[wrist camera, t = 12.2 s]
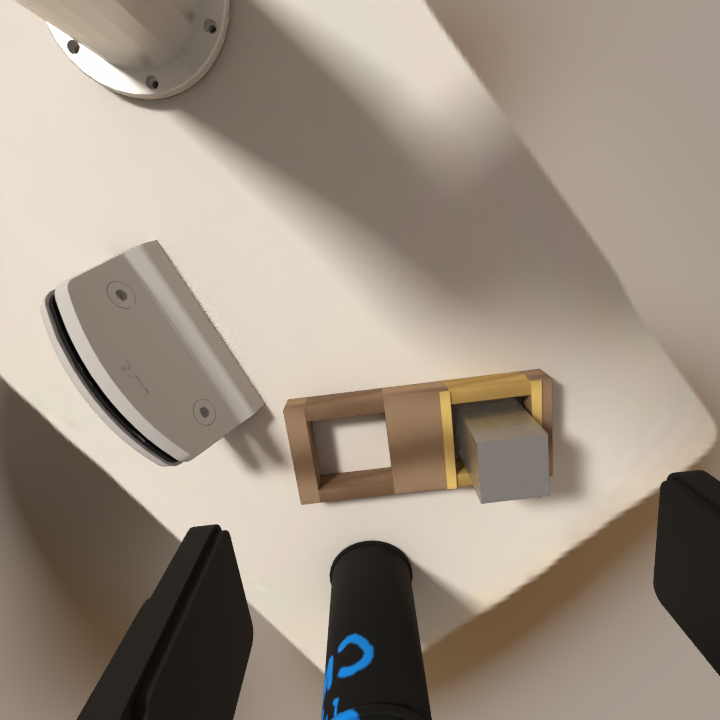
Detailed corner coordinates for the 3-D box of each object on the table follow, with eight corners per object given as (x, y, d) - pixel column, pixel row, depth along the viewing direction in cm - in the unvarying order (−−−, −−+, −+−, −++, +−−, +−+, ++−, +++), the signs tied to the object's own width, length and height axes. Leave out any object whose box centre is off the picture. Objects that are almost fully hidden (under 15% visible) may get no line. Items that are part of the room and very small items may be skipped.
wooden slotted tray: (287, 399, 39) (282, 411, 36) (539, 368, 38) (552, 379, 36) (304, 488, 41) (300, 506, 39) (541, 461, 41) (553, 477, 38)
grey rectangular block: (453, 401, 39) (476, 443, 31) (510, 393, 39) (548, 434, 31) (458, 451, 40) (481, 503, 33) (512, 444, 40) (549, 495, 33)
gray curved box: (267, 407, 39) (198, 482, 31) (230, 422, 41) (156, 496, 33) (153, 235, 35) (36, 266, 26) (118, 261, 37) (0, 298, 28)
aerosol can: (426, 557, 44) (479, 814, 24) (390, 617, 46) (413, 898, 27) (350, 527, 43) (343, 772, 23) (317, 590, 45) (285, 862, 26)
